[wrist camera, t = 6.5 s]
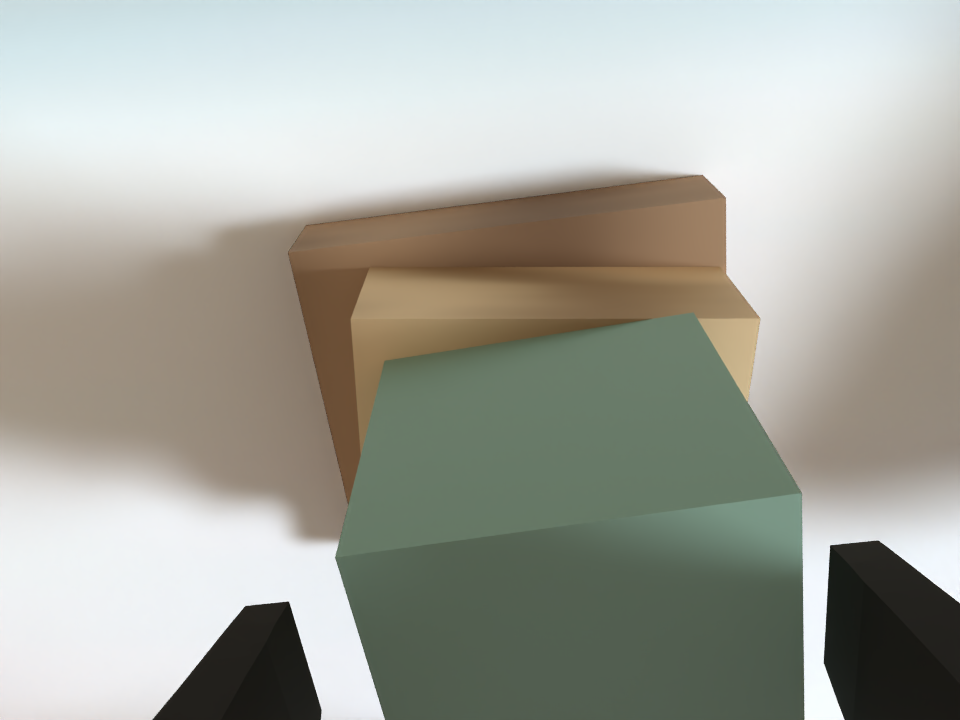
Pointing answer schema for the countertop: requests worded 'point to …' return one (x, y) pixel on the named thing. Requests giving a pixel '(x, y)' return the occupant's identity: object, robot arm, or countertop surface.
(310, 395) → the countertop surface
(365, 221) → the walnut slab
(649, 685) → the green cube
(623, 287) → the oak slab
